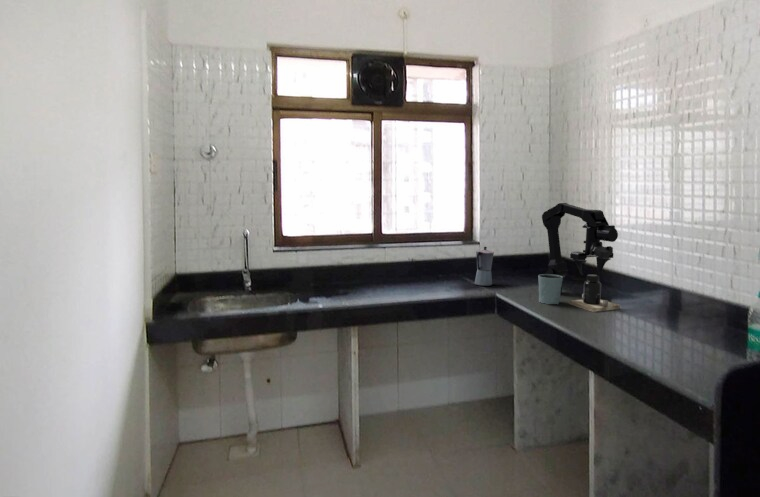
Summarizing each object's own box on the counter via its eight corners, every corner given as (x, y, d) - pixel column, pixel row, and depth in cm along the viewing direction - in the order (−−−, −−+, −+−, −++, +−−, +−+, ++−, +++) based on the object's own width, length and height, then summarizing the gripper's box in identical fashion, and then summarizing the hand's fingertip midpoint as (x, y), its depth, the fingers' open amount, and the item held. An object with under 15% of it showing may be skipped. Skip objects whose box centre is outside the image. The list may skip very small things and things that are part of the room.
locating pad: (593, 311, 201) (593, 302, 201) (569, 304, 214) (570, 295, 214) (620, 308, 206) (620, 299, 205) (595, 301, 219) (595, 292, 218)
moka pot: (497, 283, 261) (498, 245, 258) (487, 288, 248) (487, 249, 245) (480, 281, 266) (480, 244, 263) (469, 286, 253) (469, 248, 250)
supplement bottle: (601, 305, 206) (603, 277, 204) (584, 304, 207) (585, 276, 206) (598, 301, 212) (600, 274, 211) (581, 300, 214) (583, 273, 212)
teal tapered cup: (532, 301, 220) (533, 274, 219) (550, 299, 224) (551, 273, 223) (548, 306, 211) (549, 278, 210) (566, 303, 215) (567, 276, 214)
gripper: (588, 242, 203) (586, 279, 206) (624, 240, 209) (621, 276, 211) (570, 239, 214) (568, 274, 216) (604, 237, 220) (602, 271, 222)
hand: (590, 274), depth 216 cm, fingers open, 9 cm apart
